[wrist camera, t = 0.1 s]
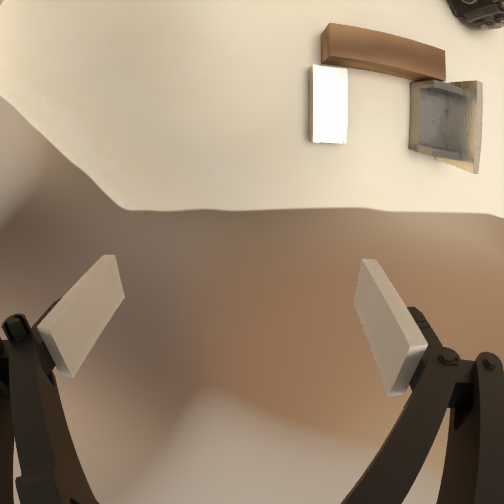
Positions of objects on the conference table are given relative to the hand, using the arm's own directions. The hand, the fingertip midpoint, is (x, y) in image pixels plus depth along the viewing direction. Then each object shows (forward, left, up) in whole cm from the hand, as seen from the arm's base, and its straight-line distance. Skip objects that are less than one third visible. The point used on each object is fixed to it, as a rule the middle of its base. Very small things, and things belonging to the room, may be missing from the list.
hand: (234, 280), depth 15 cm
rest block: (-10, +10, -28) cm, 31 cm away
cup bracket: (-10, +25, -28) cm, 39 cm away
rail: (-18, +17, -28) cm, 38 cm away
